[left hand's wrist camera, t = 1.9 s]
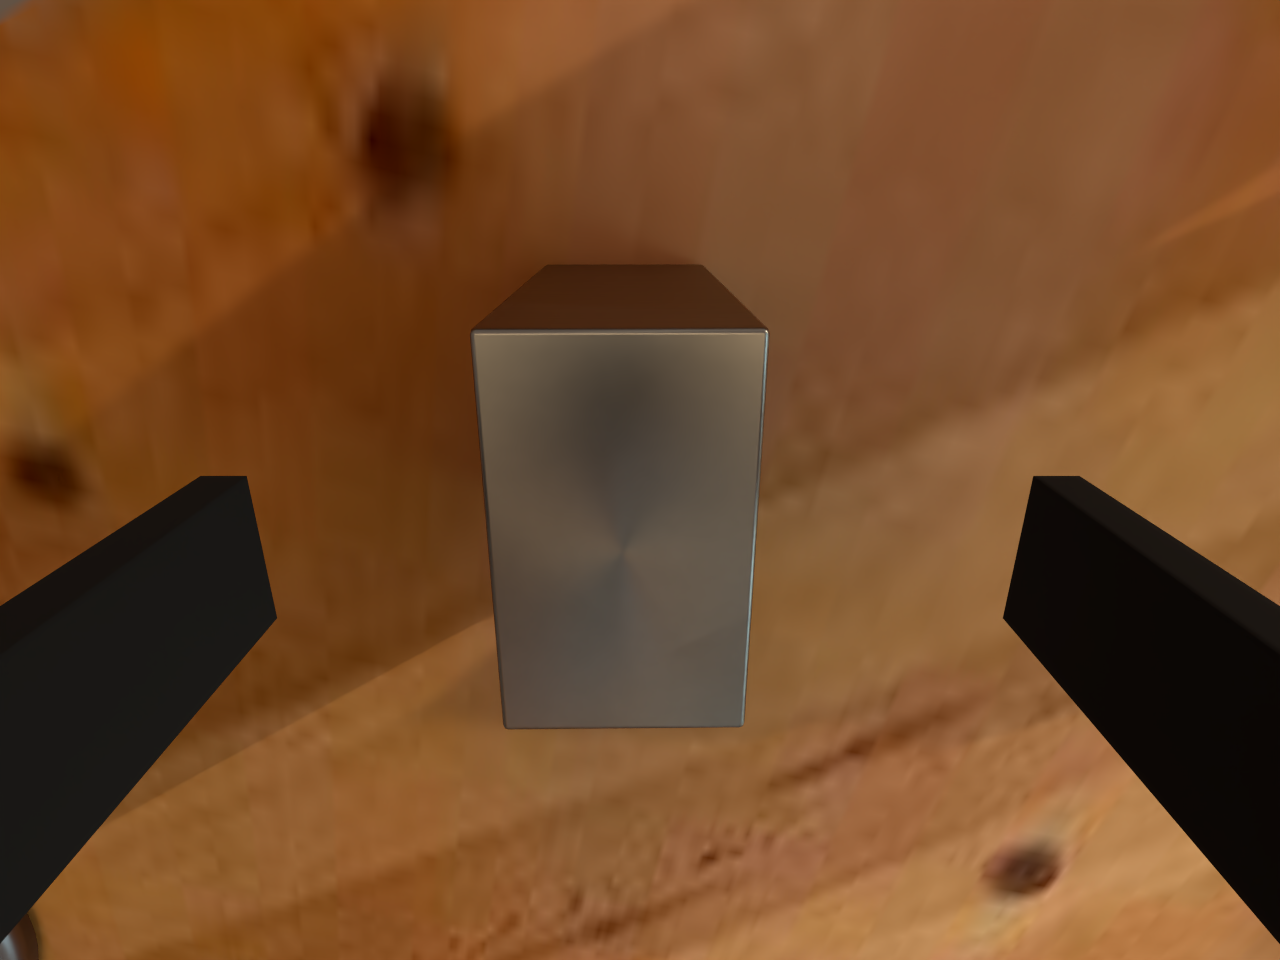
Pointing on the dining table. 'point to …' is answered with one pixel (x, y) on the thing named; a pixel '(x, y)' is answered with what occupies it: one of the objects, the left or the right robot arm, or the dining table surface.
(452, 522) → the dining table surface
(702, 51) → the dining table surface
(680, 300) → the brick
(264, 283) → the dining table surface
